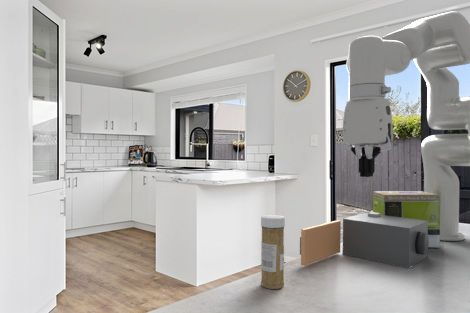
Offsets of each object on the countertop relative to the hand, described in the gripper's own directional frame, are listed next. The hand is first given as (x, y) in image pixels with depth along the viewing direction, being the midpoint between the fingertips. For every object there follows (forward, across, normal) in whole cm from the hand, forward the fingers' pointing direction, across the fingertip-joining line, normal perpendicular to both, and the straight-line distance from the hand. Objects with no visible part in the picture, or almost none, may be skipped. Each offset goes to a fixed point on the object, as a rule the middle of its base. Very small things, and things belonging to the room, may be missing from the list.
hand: (366, 176), depth 82 cm
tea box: (+22, +2, -28) cm, 36 cm away
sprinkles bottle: (+20, +8, +25) cm, 33 cm away
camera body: (+21, +1, -12) cm, 24 cm away
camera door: (+20, +10, +3) cm, 22 cm away
